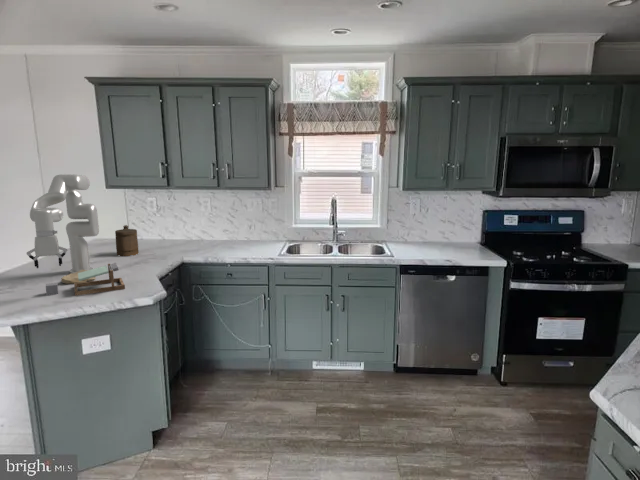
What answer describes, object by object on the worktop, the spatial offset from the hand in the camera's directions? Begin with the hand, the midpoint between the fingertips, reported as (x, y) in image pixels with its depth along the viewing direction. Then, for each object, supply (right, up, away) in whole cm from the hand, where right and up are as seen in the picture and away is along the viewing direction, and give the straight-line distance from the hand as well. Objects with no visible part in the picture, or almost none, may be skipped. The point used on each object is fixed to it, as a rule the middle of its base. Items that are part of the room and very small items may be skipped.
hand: (49, 266), depth 204 cm
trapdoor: (+19, -4, +11) cm, 23 cm away
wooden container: (-5, +3, +94) cm, 94 cm away
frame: (+19, -12, +13) cm, 26 cm away
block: (0, -14, +3) cm, 15 cm away
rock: (+2, -10, +26) cm, 28 cm away
